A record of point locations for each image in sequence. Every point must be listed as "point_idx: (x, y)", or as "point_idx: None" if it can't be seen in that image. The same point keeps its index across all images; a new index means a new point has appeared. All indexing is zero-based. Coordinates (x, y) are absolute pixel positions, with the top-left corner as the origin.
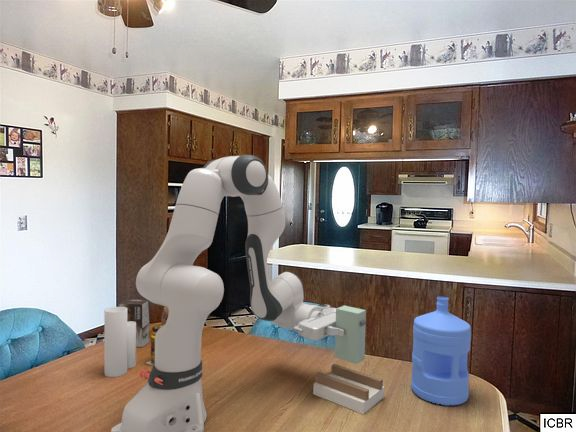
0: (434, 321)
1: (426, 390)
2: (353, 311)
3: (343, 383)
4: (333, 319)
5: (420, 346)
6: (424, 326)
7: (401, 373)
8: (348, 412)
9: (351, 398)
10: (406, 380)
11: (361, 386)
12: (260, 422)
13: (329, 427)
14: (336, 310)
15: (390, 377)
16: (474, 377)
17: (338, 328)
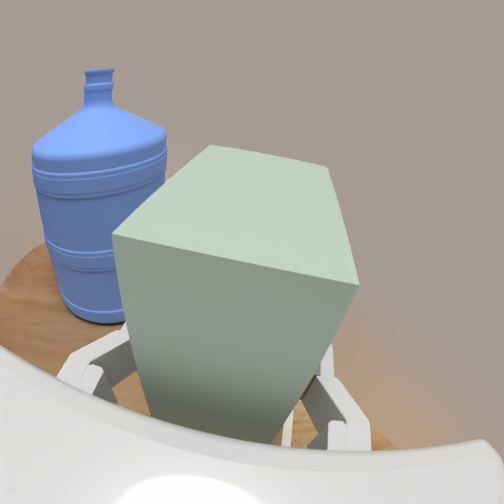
0: (135, 124)
1: None
2: (302, 177)
3: (281, 441)
4: (185, 461)
5: (137, 206)
6: (144, 143)
7: (32, 343)
8: (302, 430)
9: (292, 419)
10: (66, 335)
11: None
12: None
13: (382, 434)
14: (347, 300)
15: (56, 367)
16: (45, 242)
17: (325, 375)
